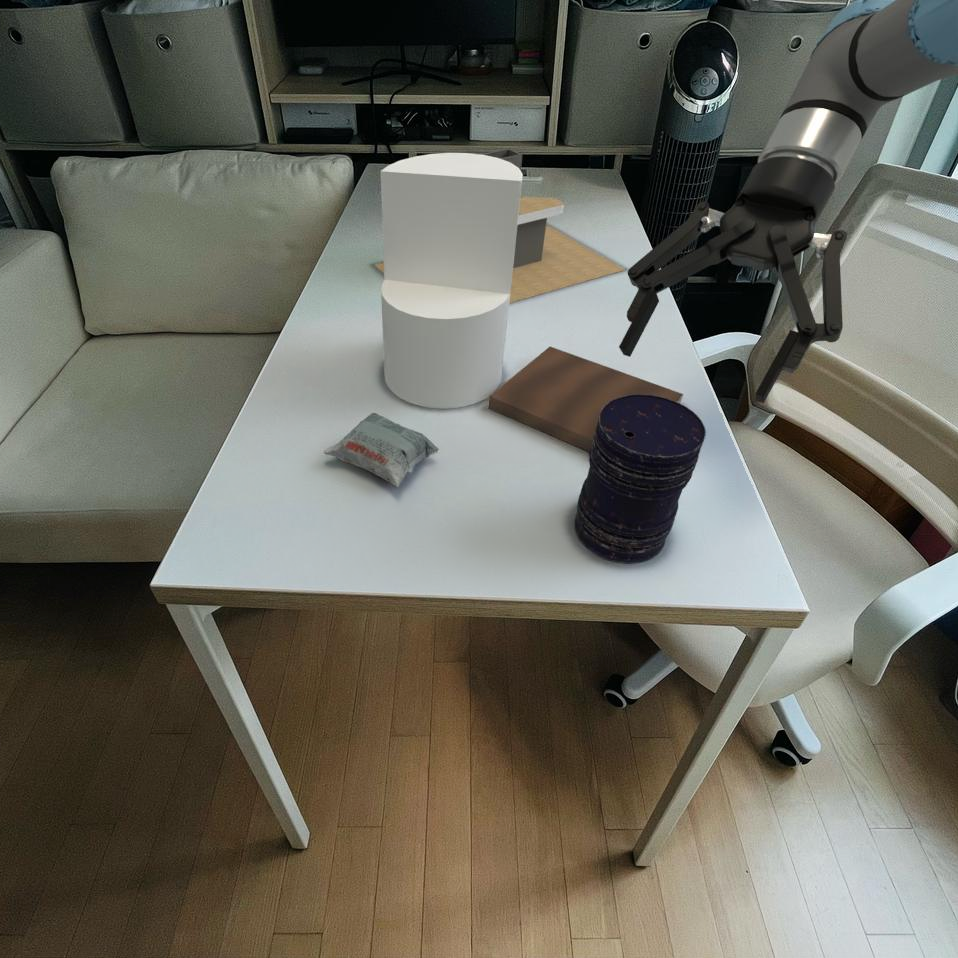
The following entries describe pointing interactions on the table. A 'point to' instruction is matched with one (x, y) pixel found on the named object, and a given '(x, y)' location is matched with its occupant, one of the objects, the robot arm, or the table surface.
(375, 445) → the packaged food
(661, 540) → the navy ribbed canister
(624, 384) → the board
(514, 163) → the architectural model
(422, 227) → the cylinder
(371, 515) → the table surface
